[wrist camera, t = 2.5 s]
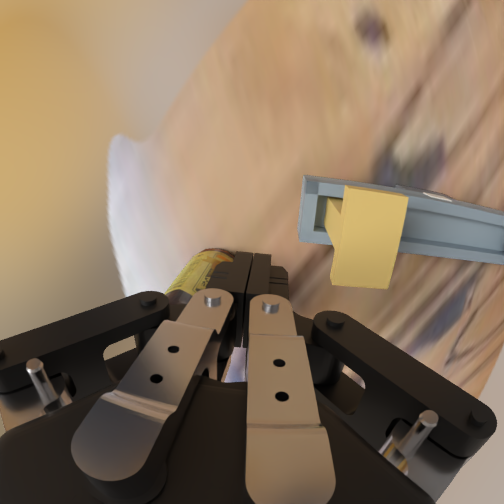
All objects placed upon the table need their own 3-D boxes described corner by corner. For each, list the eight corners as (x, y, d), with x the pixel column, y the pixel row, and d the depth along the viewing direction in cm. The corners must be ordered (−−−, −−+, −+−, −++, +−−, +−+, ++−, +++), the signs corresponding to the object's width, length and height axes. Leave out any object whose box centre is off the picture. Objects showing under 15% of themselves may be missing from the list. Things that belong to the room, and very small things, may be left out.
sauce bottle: (252, 288, 34) (222, 442, 16) (201, 300, 35) (140, 441, 17) (232, 235, 32) (172, 370, 14) (179, 250, 33) (86, 376, 15)
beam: (295, 220, 31) (302, 262, 21) (301, 169, 29) (311, 188, 19) (492, 246, 29) (541, 284, 20) (502, 207, 27) (556, 236, 18)
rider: (320, 245, 26) (332, 285, 20) (330, 172, 24) (349, 188, 17) (363, 250, 26) (387, 289, 19) (375, 179, 23) (408, 197, 17)
